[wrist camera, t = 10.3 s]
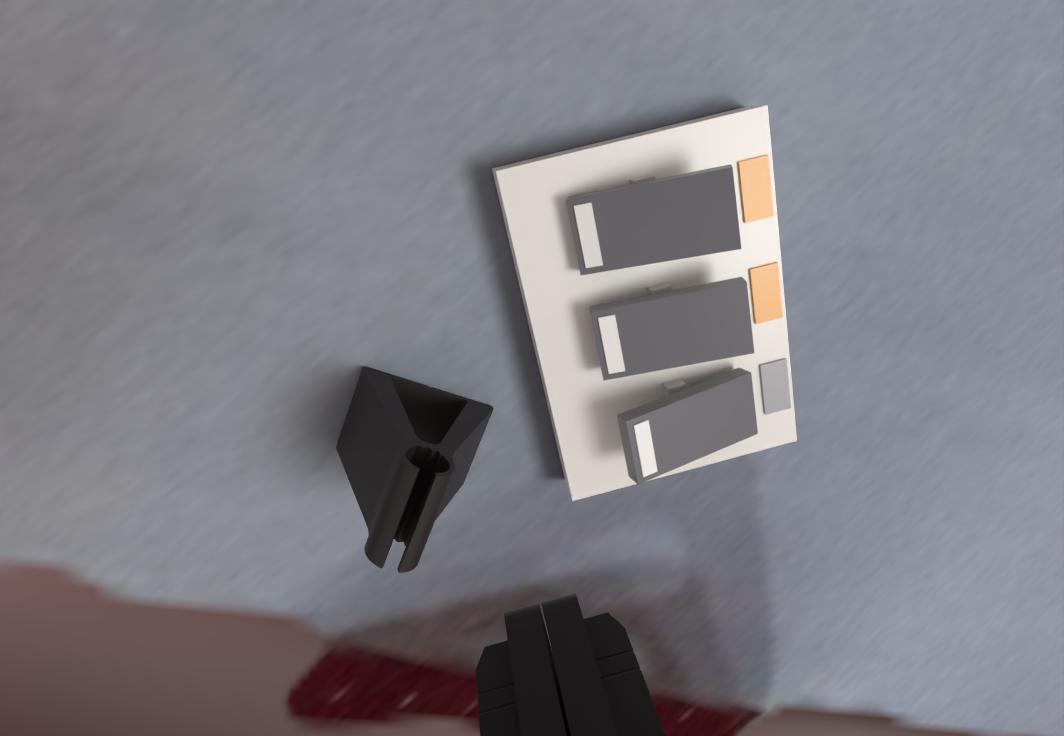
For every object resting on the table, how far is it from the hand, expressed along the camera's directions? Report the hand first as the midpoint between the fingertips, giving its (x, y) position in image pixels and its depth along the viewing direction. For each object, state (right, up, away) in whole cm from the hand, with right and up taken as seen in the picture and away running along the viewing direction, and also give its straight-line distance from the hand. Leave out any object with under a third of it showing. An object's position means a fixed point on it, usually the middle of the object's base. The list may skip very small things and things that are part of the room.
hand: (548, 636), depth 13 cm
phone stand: (-8, +2, +32) cm, 33 cm away
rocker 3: (+9, +2, +29) cm, 31 cm away
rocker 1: (+7, +14, +24) cm, 29 cm away
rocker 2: (+8, +8, +27) cm, 29 cm away
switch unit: (+7, +9, +31) cm, 33 cm away
